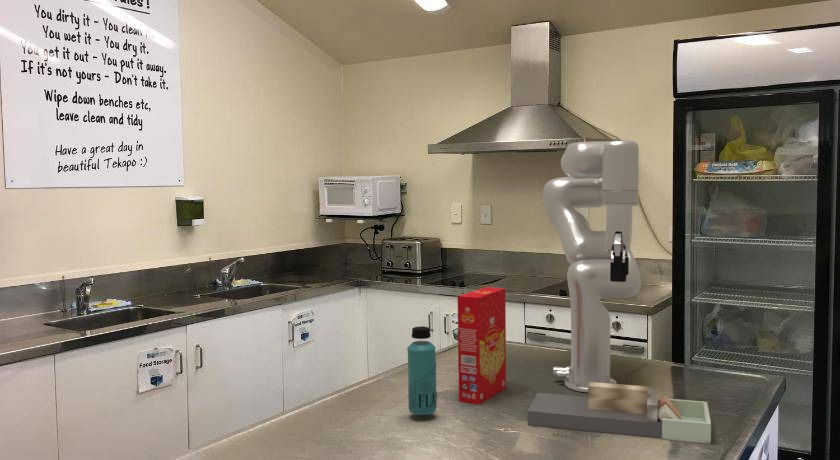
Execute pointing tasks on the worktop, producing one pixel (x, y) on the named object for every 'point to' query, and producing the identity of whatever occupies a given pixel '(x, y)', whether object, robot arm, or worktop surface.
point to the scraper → (624, 399)
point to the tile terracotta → (669, 405)
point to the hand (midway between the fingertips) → (619, 278)
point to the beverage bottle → (421, 373)
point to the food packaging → (481, 344)
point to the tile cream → (666, 413)
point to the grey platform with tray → (621, 419)
